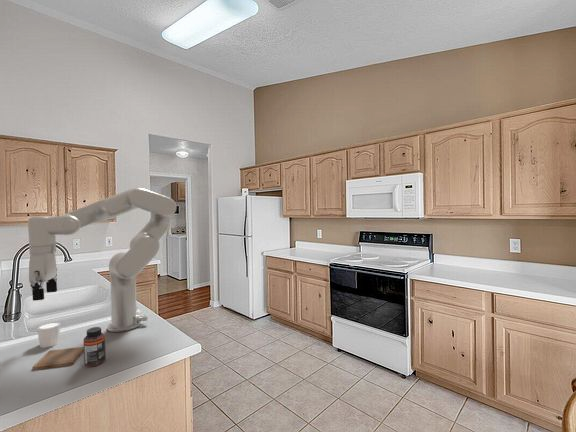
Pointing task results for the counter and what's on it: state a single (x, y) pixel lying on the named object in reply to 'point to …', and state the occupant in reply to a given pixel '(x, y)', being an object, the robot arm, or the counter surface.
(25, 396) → the counter surface
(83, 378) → the counter surface
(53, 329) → the white cup
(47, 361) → the coaster
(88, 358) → the supplement bottle
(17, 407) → the counter surface
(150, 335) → the counter surface
